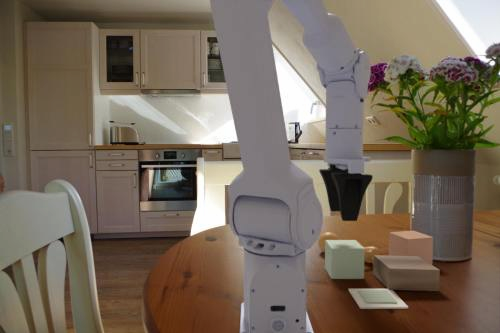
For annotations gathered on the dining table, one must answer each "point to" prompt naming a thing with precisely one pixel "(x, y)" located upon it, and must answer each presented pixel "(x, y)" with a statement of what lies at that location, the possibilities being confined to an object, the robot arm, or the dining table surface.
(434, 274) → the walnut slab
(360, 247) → the sage block
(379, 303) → the swatch
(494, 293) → the dining table surface
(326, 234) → the figurine
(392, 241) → the terracotta block
